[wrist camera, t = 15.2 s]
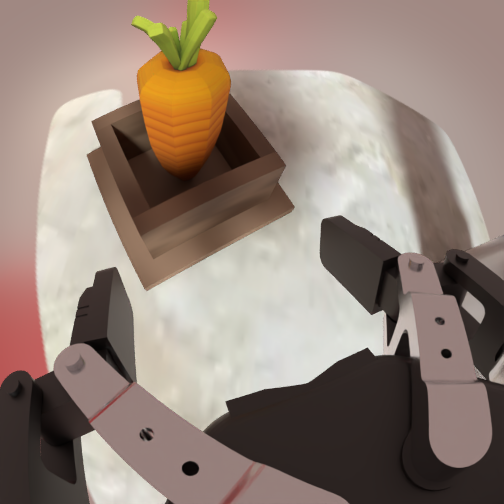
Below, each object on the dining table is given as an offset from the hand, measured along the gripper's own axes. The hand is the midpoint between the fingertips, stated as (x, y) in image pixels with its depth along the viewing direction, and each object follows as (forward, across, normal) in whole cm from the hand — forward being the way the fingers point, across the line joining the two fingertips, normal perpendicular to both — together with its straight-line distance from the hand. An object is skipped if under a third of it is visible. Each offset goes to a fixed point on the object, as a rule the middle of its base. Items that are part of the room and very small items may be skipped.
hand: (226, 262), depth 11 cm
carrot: (+14, 0, 0) cm, 14 cm away
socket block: (+14, 0, +1) cm, 14 cm away
